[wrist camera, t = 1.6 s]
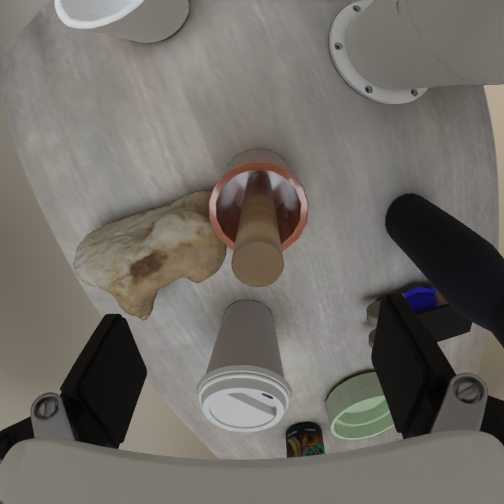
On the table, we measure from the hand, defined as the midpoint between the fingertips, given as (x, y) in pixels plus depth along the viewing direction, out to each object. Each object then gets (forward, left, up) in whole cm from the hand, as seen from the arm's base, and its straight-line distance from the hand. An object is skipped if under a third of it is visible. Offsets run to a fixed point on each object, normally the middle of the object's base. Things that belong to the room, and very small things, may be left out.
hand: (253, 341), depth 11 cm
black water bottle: (-4, +18, -24) cm, 31 cm away
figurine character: (+5, +26, -24) cm, 36 cm away
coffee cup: (+17, +6, -24) cm, 30 cm away
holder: (0, 0, -24) cm, 24 cm away
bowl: (+25, +31, -24) cm, 46 cm away
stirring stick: (0, 0, -23) cm, 23 cm away
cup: (-14, -18, -24) cm, 33 cm away
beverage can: (+39, +27, -24) cm, 53 cm away
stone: (+11, -7, -24) cm, 28 cm away
